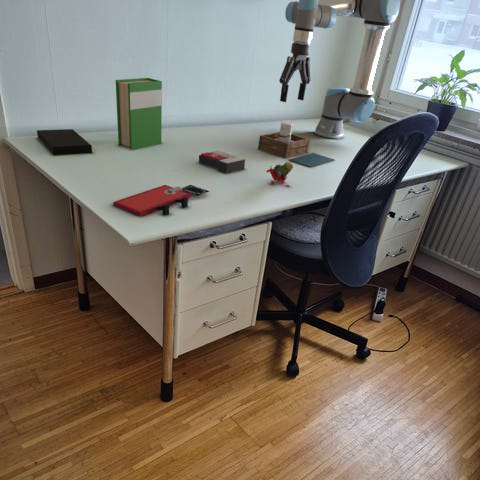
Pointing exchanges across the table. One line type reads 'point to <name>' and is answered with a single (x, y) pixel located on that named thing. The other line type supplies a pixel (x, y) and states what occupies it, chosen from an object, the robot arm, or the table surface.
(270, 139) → the crate
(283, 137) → the ink box
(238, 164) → the calculator
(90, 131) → the table surface
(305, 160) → the mat
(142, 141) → the hardback book
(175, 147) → the table surface
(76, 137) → the external hard drive
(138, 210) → the red board with handle
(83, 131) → the table surface
